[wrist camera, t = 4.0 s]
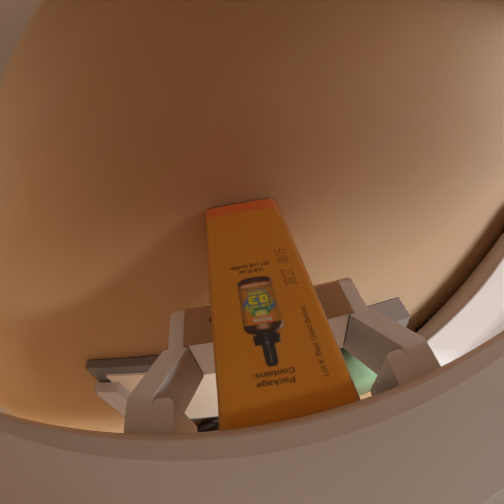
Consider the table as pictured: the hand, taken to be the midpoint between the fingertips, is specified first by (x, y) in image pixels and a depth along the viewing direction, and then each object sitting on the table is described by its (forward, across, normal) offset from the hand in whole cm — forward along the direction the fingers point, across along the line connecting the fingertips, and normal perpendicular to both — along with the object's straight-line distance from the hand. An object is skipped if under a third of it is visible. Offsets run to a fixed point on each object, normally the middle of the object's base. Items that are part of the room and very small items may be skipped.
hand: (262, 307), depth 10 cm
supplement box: (+5, 0, 0) cm, 5 cm away
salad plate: (+6, -25, +14) cm, 29 cm away
